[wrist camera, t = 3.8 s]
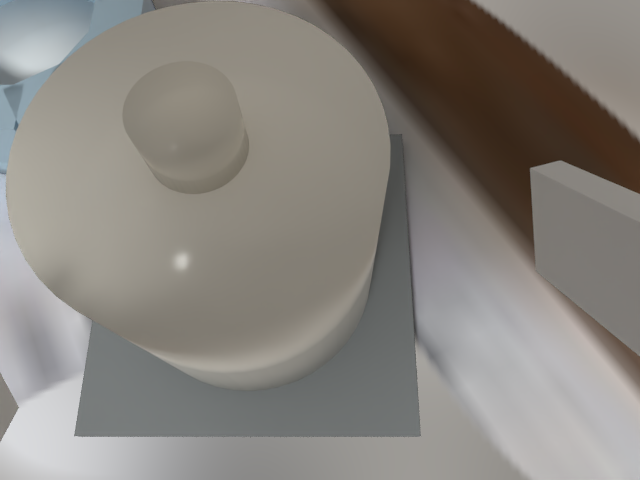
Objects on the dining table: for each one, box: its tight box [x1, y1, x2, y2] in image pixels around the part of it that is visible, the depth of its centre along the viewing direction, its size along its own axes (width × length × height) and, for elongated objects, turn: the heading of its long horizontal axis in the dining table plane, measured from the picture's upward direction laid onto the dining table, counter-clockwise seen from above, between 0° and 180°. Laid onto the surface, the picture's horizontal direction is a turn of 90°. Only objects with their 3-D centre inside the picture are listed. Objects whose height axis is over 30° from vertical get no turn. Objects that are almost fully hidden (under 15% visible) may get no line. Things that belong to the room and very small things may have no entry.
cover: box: [6, 1, 391, 391], centre depth 16 cm, size 9×9×11 cm
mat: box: [74, 134, 421, 437], centre depth 22 cm, size 12×12×1 cm
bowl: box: [0, 0, 156, 174], centre depth 24 cm, size 11×11×4 cm
